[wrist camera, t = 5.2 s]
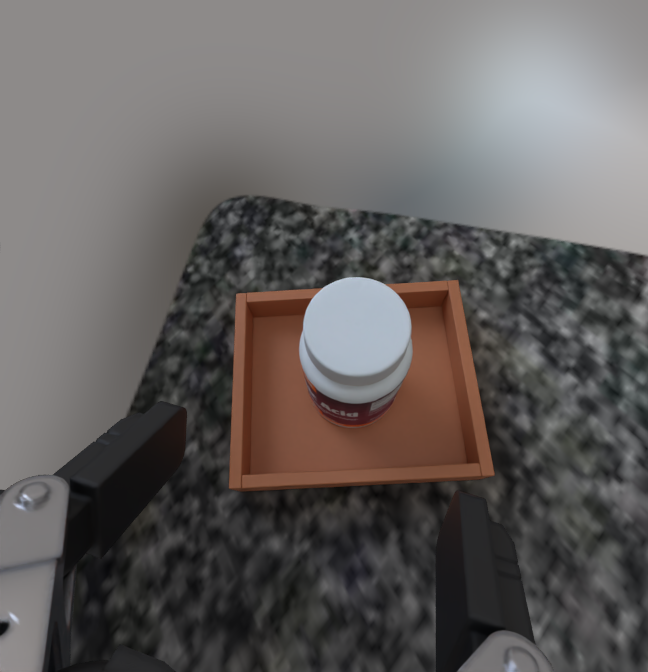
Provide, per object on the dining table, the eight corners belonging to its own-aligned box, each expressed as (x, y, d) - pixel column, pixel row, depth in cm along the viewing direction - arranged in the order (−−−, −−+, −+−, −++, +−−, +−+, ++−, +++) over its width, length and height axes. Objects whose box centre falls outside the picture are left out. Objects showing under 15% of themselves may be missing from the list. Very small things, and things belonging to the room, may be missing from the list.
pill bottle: (290, 389, 24) (264, 328, 16) (348, 329, 25) (350, 245, 17) (356, 449, 22) (363, 415, 14) (414, 383, 23) (449, 318, 16)
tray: (239, 491, 22) (228, 489, 20) (245, 312, 26) (235, 293, 24) (479, 479, 22) (495, 475, 20) (448, 299, 26) (458, 279, 23)
